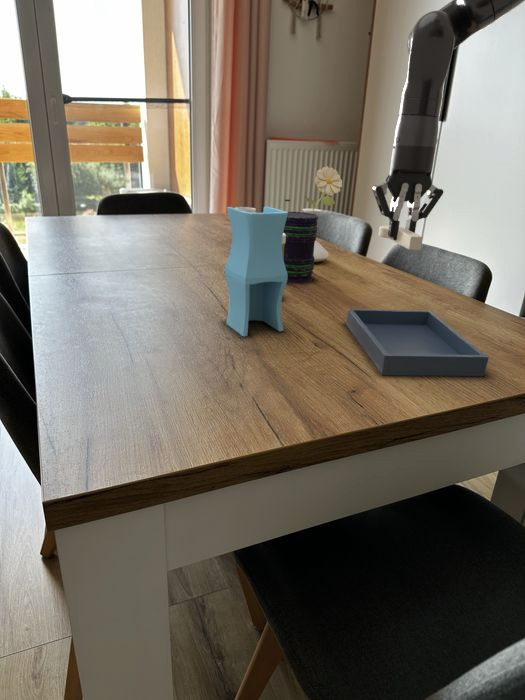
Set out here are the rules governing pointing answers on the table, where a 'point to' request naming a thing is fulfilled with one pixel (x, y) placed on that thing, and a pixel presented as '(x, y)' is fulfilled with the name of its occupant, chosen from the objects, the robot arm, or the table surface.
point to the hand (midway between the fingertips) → (400, 239)
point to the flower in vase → (324, 201)
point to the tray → (414, 344)
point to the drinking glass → (246, 209)
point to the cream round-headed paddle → (404, 238)
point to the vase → (256, 268)
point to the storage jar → (299, 246)
